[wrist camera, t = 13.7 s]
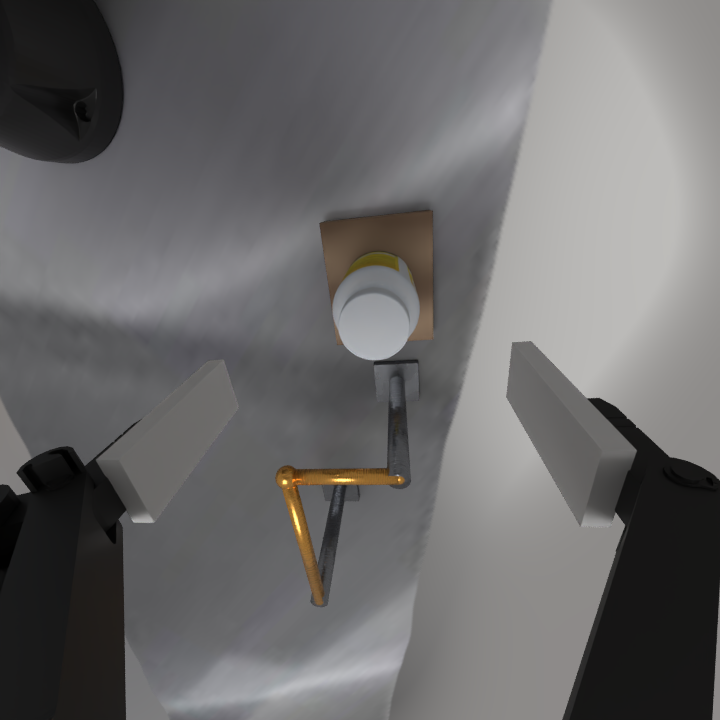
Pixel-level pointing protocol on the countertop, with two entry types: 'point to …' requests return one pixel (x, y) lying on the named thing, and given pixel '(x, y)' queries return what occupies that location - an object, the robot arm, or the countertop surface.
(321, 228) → the pad
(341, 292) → the pill bottle
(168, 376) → the countertop surface
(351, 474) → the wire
